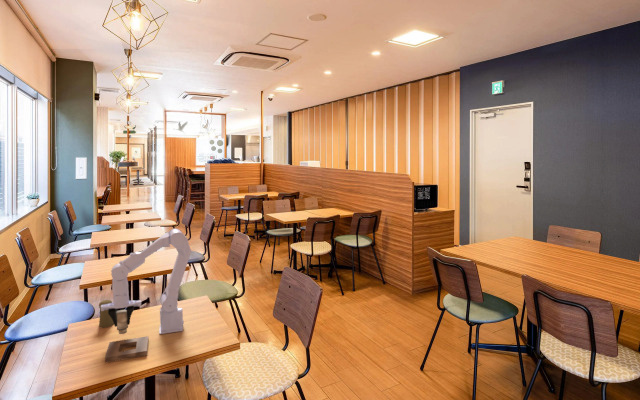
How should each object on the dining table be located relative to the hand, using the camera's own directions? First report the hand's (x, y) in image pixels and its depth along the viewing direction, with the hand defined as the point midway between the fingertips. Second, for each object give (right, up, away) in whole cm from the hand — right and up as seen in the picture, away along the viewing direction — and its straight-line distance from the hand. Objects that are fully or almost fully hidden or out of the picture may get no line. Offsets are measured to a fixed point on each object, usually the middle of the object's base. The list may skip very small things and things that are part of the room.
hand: (122, 324), depth 153 cm
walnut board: (+7, -7, -9) cm, 14 cm away
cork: (-14, -4, +12) cm, 19 cm away
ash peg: (0, -3, 0) cm, 3 cm away
